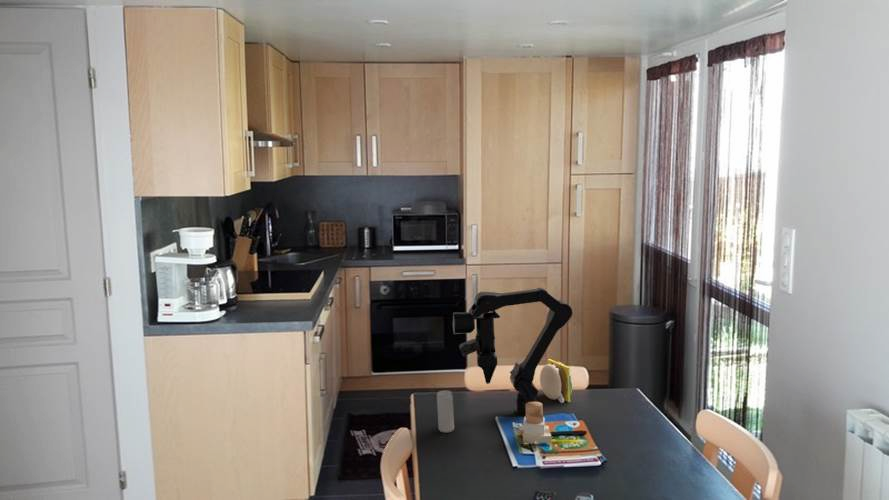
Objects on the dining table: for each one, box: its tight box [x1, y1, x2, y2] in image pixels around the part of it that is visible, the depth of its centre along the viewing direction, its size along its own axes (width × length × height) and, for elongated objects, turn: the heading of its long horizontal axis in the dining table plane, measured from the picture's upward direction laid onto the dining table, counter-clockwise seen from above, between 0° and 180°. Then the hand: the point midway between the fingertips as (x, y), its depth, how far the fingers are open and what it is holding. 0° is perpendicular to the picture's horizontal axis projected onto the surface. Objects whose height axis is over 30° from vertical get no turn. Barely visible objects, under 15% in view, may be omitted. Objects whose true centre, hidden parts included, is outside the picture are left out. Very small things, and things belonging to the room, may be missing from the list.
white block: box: [522, 416, 546, 435], centre depth 208 cm, size 6×6×3 cm
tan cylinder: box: [525, 401, 544, 424], centre depth 208 cm, size 5×5×5 cm
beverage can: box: [436, 389, 455, 434], centre depth 218 cm, size 5×5×12 cm
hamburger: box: [539, 358, 573, 404], centre depth 242 cm, size 12×8×12 cm
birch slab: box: [521, 425, 552, 443], centre depth 208 cm, size 8×8×3 cm
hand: (487, 379), depth 228 cm, fingers open, 9 cm apart
